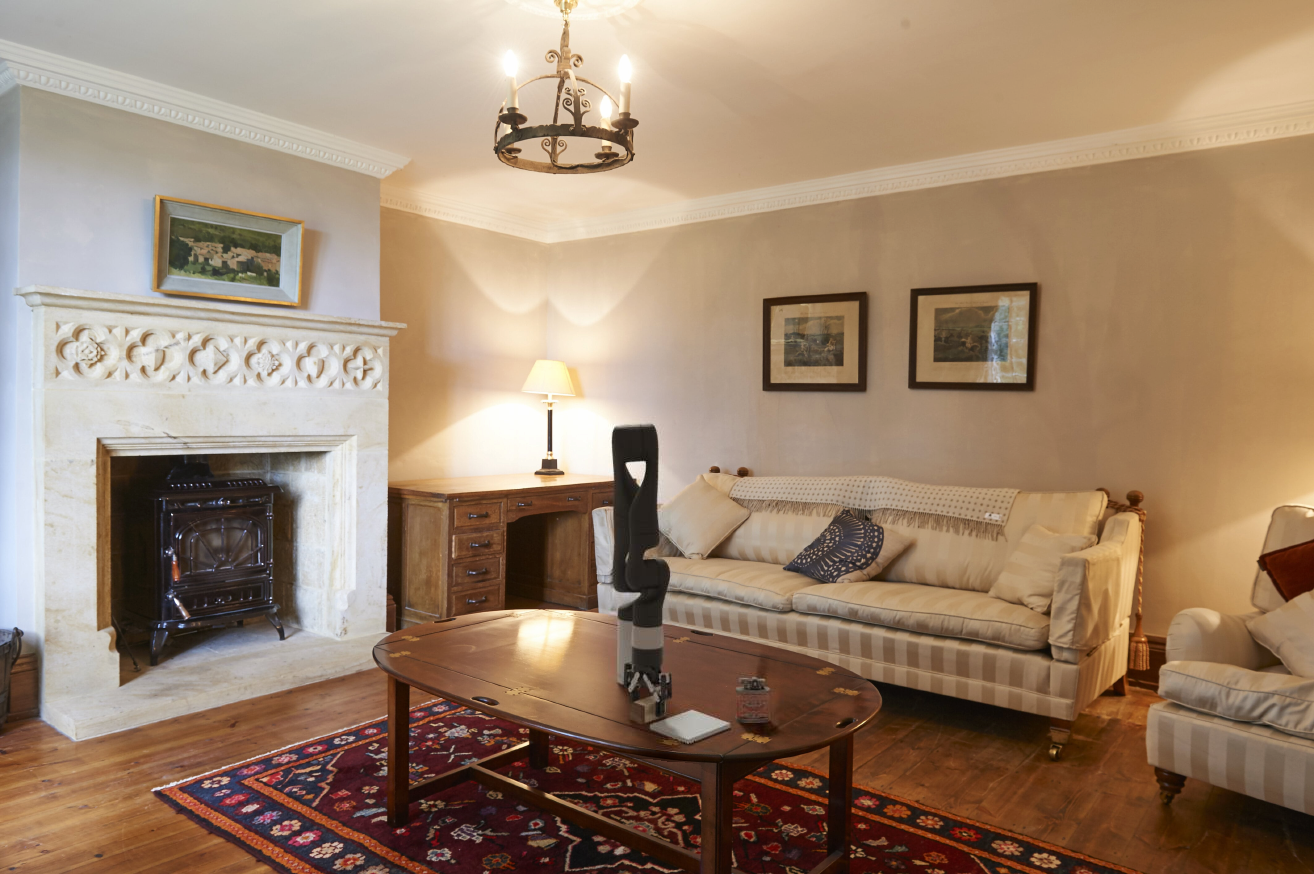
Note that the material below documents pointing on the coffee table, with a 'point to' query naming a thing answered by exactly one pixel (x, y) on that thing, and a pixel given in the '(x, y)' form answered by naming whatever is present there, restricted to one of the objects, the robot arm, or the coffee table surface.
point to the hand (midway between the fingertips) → (647, 711)
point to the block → (643, 710)
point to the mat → (690, 726)
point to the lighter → (752, 701)
